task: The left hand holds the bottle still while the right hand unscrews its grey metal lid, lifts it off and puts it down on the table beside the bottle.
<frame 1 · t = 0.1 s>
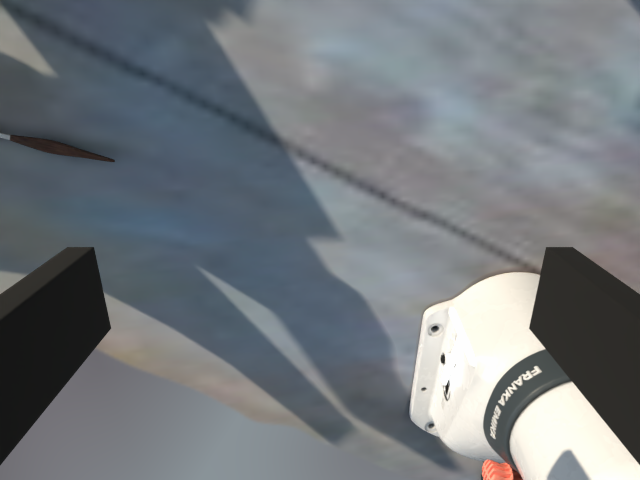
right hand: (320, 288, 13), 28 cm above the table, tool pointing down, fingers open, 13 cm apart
fork: (28, 139, 39), on the table
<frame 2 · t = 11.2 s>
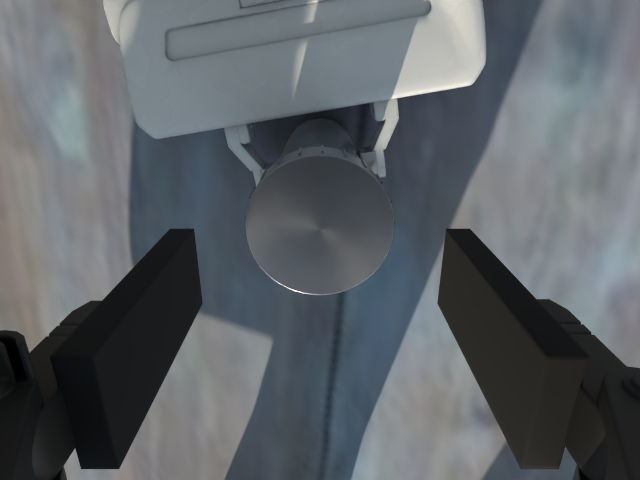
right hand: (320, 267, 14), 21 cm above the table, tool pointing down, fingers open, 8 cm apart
left hand: (322, 185, 28), fingers closed on bottle, 5 cm apart
lid: (319, 226, 18), point 17 cm above the table, screwed on, not yet turned
bottle: (319, 153, 33), on the table, touching left hand
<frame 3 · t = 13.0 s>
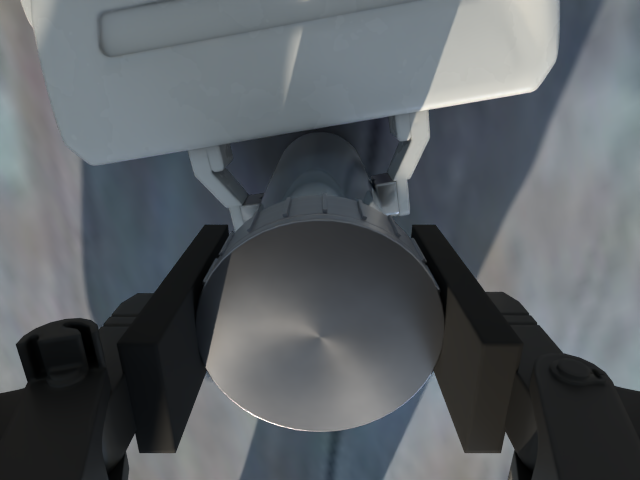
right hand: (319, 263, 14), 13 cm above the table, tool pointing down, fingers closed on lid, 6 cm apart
left hand: (324, 224, 21), fingers closed on bottle, 5 cm apart
lid: (320, 329, 11), point 17 cm above the table, screwed on, not yet turned, touching right hand
bottle: (320, 175, 26), on the table, touching left hand
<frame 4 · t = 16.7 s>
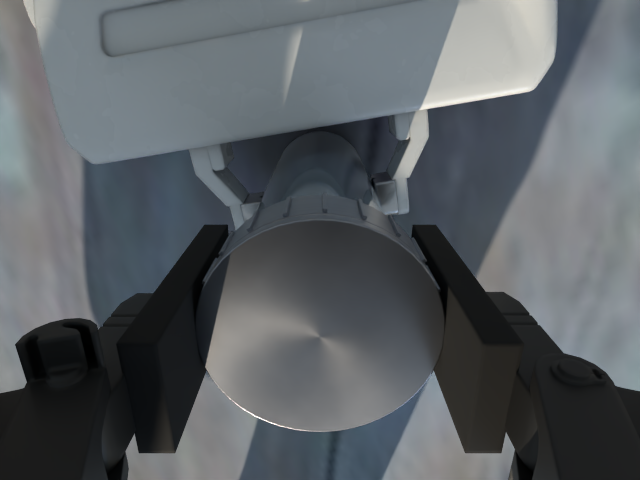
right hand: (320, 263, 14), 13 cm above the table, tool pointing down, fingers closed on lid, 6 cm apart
left hand: (324, 222, 21), fingers closed on bottle, 5 cm apart
lid: (320, 329, 11), point 17 cm above the table, turned 120° so far, risen 0.2 cm, still on its thread, touching right hand
bottle: (320, 174, 26), on the table, touching left hand
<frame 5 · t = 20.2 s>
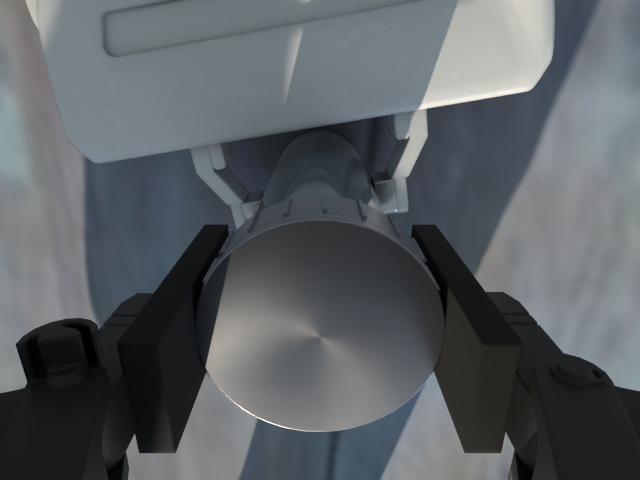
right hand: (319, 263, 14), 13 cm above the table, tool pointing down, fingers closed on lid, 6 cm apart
left hand: (323, 221, 21), fingers closed on bottle, 5 cm apart
lid: (319, 329, 11), point 17 cm above the table, turned 240° so far, risen 0.4 cm, still on its thread, touching right hand
bottle: (320, 173, 27), on the table, touching left hand
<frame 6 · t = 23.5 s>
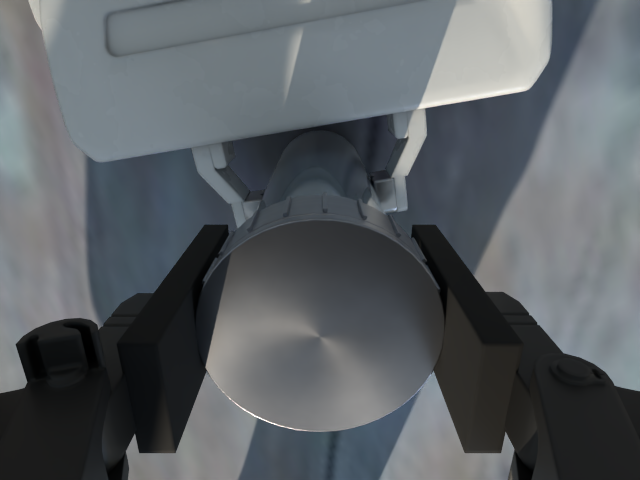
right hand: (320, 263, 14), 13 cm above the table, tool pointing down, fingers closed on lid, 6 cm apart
left hand: (323, 220, 21), fingers closed on bottle, 5 cm apart
lid: (319, 329, 11), point 17 cm above the table, turned 360° so far, risen 0.6 cm, still on its thread, touching right hand
bottle: (320, 173, 27), on the table, touching left hand
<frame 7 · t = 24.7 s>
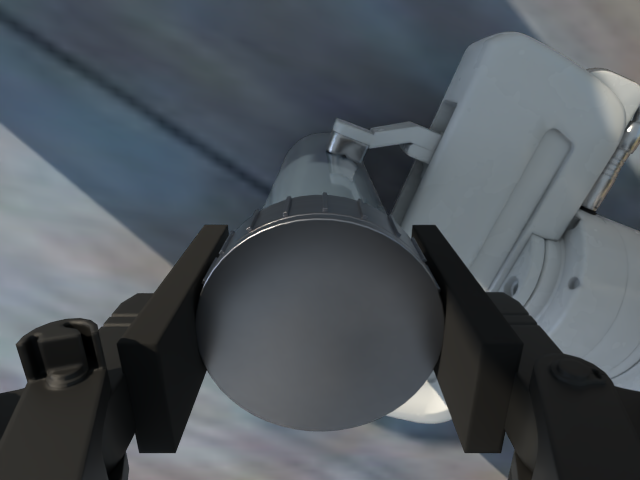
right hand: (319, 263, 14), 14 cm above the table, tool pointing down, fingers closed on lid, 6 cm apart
left hand: (306, 197, 21), fingers closed on bottle, 5 cm apart
lid: (320, 328, 11), point 18 cm above the table, off its thread, touching right hand
bottle: (323, 174, 28), on the table, touching left hand
when the right hand's fingers open (0 cm above the table, at t = 30.3 s): lid drops 2 cm, point 2 cm above the table.
when the left hand's fingers open (7 cm above the table, at t = 31.0 s): bottle stays where it is, on the table.
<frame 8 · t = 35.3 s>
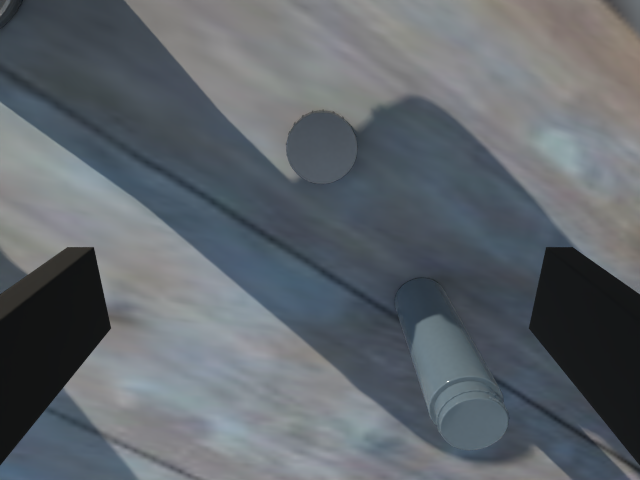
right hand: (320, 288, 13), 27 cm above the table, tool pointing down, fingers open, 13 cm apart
lid: (321, 148, 37), point 2 cm above the table, off its thread
bottle: (420, 300, 44), on the table
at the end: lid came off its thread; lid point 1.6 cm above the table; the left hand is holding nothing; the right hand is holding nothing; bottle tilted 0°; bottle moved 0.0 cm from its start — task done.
